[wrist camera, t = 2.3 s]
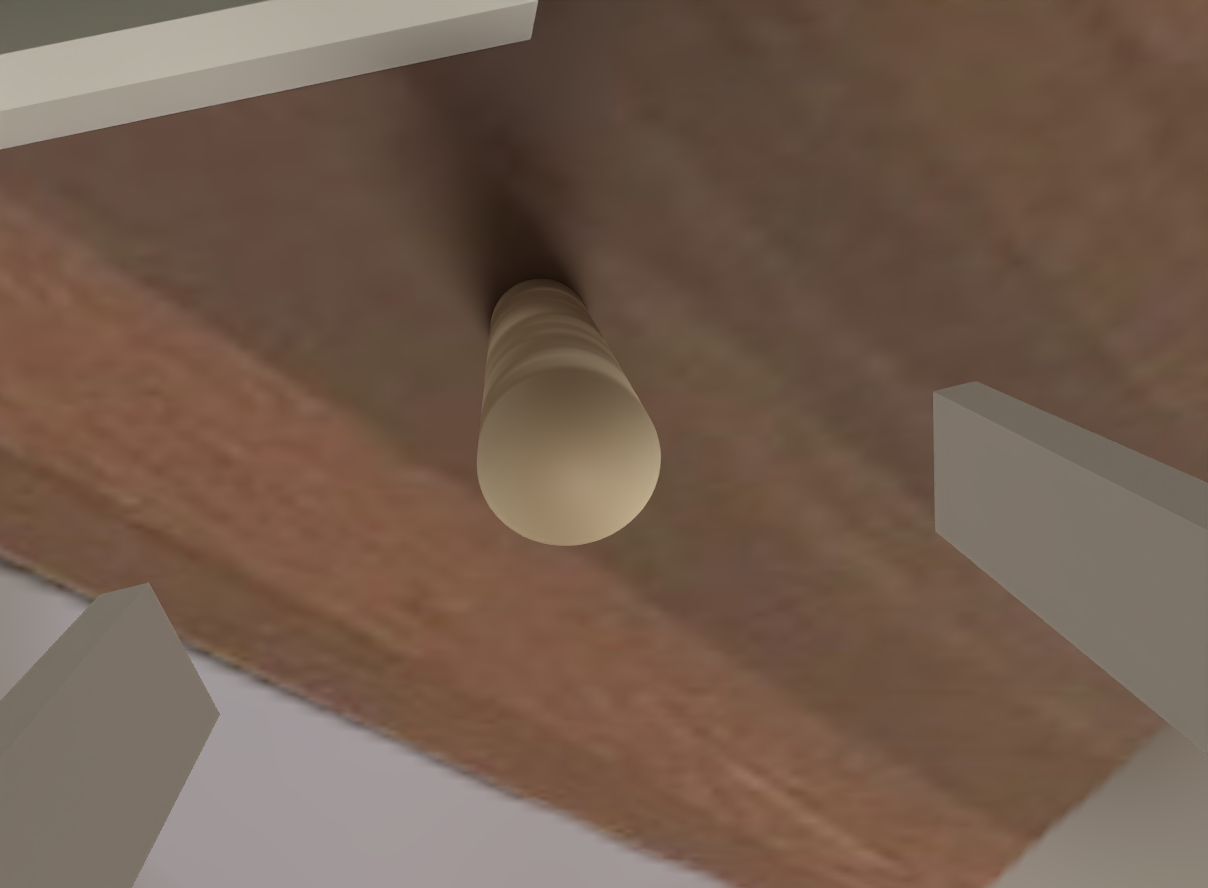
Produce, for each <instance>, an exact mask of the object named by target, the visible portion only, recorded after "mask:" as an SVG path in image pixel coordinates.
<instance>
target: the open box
mask: <svg viewBox="0 0 1208 888" xmlns="http://www.w3.org/2000/svg"><path fill="white" fill-rule="evenodd" d="M537 4H538V0H0V149H5V148H9V147H14V146H19V145H24V144H29V143H33V142H38V141H43V140H48V139H53V138H58V137H62V136H67V135H72V134H77V133H82V132H86V131H91V130H96V129H101V128H106V127H111V126H115V125H120V124H125V123H130V122H135V121H139V120H144V119H149V118H154V117H159V116H164V115H168V114H173V113H178V112H183V111H188V110H192V109H197V108H202V107H207V106H212V105H217V104H221V103H226V102H231V101H236V100H241V99H245V98H250V97H255V96H260V95H265V94H270V93H274V92H279V91H284V90H289V89H294V88H298V87H303V86H308V85H313V84H318V83H323V82H327V81H332V80H337V79H342V78H347V77H351V76H356V75H361V74H366V73H371V72H376V71H380V70H385V69H390V68H395V67H400V66H404V65H409V64H414V63H419V62H424V61H429V60H433V59H438V58H443V57H448V56H453V55H457V54H462V53H467V52H472V51H477V50H482V49H486V48H491V47H496V46H501V45H506V44H510V43H515V42H520V41H525V40H530V39H531V35H532V30H533V25H534V20H535V14H536V9H537Z"/></svg>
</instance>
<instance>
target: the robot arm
mask: <svg viewBox="0 0 1208 888" xmlns="http://www.w3.org/2000/svg"><path fill="white" fill-rule="evenodd" d="M933 416H934V485H935V531H936V532H937V533H938V534H939V535H940V536H942V537H943V538H944V539H945V540H947V541H948V542H949V543H950V544H951V545H953V546H954V547H955V548H956V549H958V550H959V551H960V552H961V553H962V554H964V555H965V556H966V557H967V558H968V559H970V560H971V561H972V562H973V563H975V564H976V565H977V566H978V567H979V568H981V569H982V570H983V571H984V572H986V573H987V574H988V575H989V576H990V577H992V578H993V579H994V580H995V581H996V582H998V583H999V584H1000V585H1001V586H1003V587H1004V588H1005V589H1006V590H1007V591H1009V592H1010V593H1011V594H1012V595H1013V596H1015V597H1016V598H1017V599H1018V600H1020V601H1021V602H1022V603H1023V604H1024V605H1026V606H1027V607H1028V608H1029V609H1031V610H1032V611H1033V612H1034V613H1035V614H1037V615H1038V616H1039V617H1040V618H1041V619H1043V620H1044V621H1045V622H1046V623H1048V624H1049V625H1050V626H1051V627H1052V628H1054V629H1055V630H1056V631H1057V632H1059V633H1060V634H1061V635H1062V636H1063V637H1065V638H1066V639H1067V640H1068V641H1069V642H1071V643H1072V644H1073V645H1074V646H1076V647H1077V648H1078V649H1079V650H1080V651H1082V652H1083V653H1084V654H1085V655H1087V656H1088V657H1089V658H1090V659H1091V660H1093V661H1094V662H1095V663H1096V664H1097V665H1099V666H1100V667H1101V668H1102V669H1104V670H1105V671H1106V672H1107V673H1108V674H1110V675H1111V676H1112V677H1113V678H1114V679H1116V680H1117V681H1118V682H1119V683H1121V684H1122V685H1123V686H1124V687H1125V688H1127V689H1128V690H1129V691H1130V692H1132V693H1133V694H1134V695H1135V696H1136V697H1138V698H1139V699H1140V700H1141V701H1142V702H1144V703H1145V704H1146V705H1147V706H1149V707H1150V708H1151V709H1152V710H1153V711H1155V712H1156V713H1157V714H1158V715H1160V716H1161V717H1162V718H1163V719H1164V720H1166V721H1167V722H1168V723H1169V724H1170V725H1172V726H1173V727H1174V728H1175V729H1177V730H1178V731H1179V732H1180V733H1181V734H1183V735H1184V736H1185V737H1186V738H1188V739H1189V740H1190V741H1191V742H1192V743H1194V744H1195V745H1196V746H1197V747H1199V748H1200V749H1201V750H1202V751H1203V752H1205V753H1206V754H1207V755H1208V483H1207V482H1204V481H1202V480H1200V479H1198V478H1195V477H1193V476H1191V475H1188V474H1186V473H1184V472H1182V471H1179V470H1177V469H1175V468H1172V467H1170V466H1168V465H1166V464H1163V463H1161V462H1159V461H1157V460H1154V459H1152V458H1150V457H1147V456H1145V455H1143V454H1141V453H1138V452H1136V451H1134V450H1131V449H1129V448H1127V447H1125V446H1122V445H1120V444H1118V443H1116V442H1113V441H1111V440H1109V439H1106V438H1104V437H1102V436H1100V435H1097V434H1095V433H1093V432H1090V431H1088V430H1086V429H1084V428H1081V427H1079V426H1077V425H1075V424H1072V423H1070V422H1068V421H1065V420H1063V419H1061V418H1059V417H1056V416H1054V415H1052V414H1050V413H1047V412H1045V411H1043V410H1040V409H1038V408H1036V407H1034V406H1031V405H1029V404H1027V403H1024V402H1022V401H1020V400H1018V399H1015V398H1013V397H1011V396H1009V395H1006V394H1004V393H1002V392H999V391H997V390H995V389H993V388H990V387H988V386H986V385H983V384H981V383H979V382H977V381H974V382H970V383H966V384H962V385H958V386H954V387H950V388H946V389H941V390H937V391H933ZM219 715H220V713H219V712H218V710H217V708H216V707H215V704H214V703H213V701H212V699H211V697H210V695H209V693H208V691H207V689H206V687H205V686H204V684H203V682H202V680H201V678H200V676H199V675H198V673H197V671H196V669H195V667H194V665H193V663H192V662H191V660H190V658H189V656H188V654H187V652H186V650H185V649H184V647H183V645H182V643H181V641H180V639H179V637H178V636H177V634H176V632H175V630H174V628H173V626H172V624H171V623H170V621H169V619H168V617H167V615H166V613H165V612H164V610H163V608H162V606H161V604H160V602H159V600H158V599H157V597H156V595H155V593H154V591H153V589H152V587H151V586H150V584H149V583H146V584H141V585H137V586H133V587H129V588H125V589H121V590H117V591H113V592H109V593H105V594H100V595H99V596H98V597H97V598H96V599H95V600H94V601H93V602H92V604H91V605H90V606H89V607H88V608H87V609H86V610H85V611H84V612H83V613H82V615H81V616H79V617H78V618H77V620H76V621H75V622H74V623H73V624H72V625H71V626H70V627H69V628H68V629H67V630H66V631H65V632H64V634H63V635H62V636H61V637H60V638H59V639H58V640H57V641H56V642H55V643H54V644H53V645H52V646H51V647H50V648H49V649H48V651H47V652H46V653H45V654H44V655H43V656H42V657H41V658H40V659H39V660H38V661H37V662H36V663H35V664H34V666H33V667H32V668H31V669H30V670H29V671H28V672H27V673H26V674H25V675H24V676H23V677H22V678H21V679H20V681H19V682H18V683H17V684H16V685H15V686H14V687H13V688H12V689H11V690H10V691H9V692H8V693H7V694H6V696H5V697H4V698H3V699H2V700H1V701H0V888H132V886H133V884H134V882H135V880H136V878H137V876H138V874H139V872H140V870H141V869H142V867H143V865H144V863H145V861H146V858H147V857H148V855H149V853H150V851H151V849H152V847H153V845H154V843H155V841H156V839H157V837H158V835H159V833H160V831H161V829H162V827H163V825H164V823H165V821H166V819H167V817H168V815H169V813H170V812H171V810H172V807H173V806H174V804H175V801H176V800H177V798H178V796H179V794H180V792H181V790H182V788H183V786H184V784H185V782H186V780H187V778H188V776H189V774H190V772H191V770H192V768H193V766H194V764H195V762H196V760H197V758H198V756H199V755H200V752H201V750H202V748H203V747H204V745H205V743H206V741H207V739H208V737H209V735H210V733H211V731H212V729H213V727H214V725H215V723H216V721H217V719H218V717H219Z"/></svg>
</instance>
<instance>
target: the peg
mask: <svg viewBox="0 0 1208 888" xmlns="http://www.w3.org/2000/svg"><path fill="white" fill-rule="evenodd" d="M660 461H661V453H660V444H659V440H658V436H657V432H656V430H655V428H654V425H653V423H652V421H651V419H650V418H649V416H648V414H647V412H646V411H645V409H644V407H643V406H642V404H641V402H640V400H639V399H638V397H637V395H636V393H635V392H634V390H633V388H632V387H631V385H630V383H629V381H628V380H627V378H626V376H625V374H624V373H623V371H622V369H621V368H620V366H619V364H618V362H617V361H616V359H615V357H614V355H613V354H612V352H611V350H610V349H609V347H608V345H607V343H606V342H605V340H604V338H603V336H602V335H601V333H600V331H599V330H598V328H597V326H596V324H595V323H594V321H593V319H592V317H591V316H590V314H589V312H588V311H587V309H586V307H585V305H584V304H583V302H582V300H581V299H580V298H579V296H578V295H577V294H576V293H575V292H574V291H573V290H571V289H570V288H569V287H567V286H566V285H564V284H562V283H560V282H557V281H554V280H550V279H543V278H538V279H529V280H526V281H522V282H520V283H518V284H516V285H514V286H513V287H511V288H510V289H509V290H507V291H506V292H505V293H504V294H503V295H502V296H501V298H500V299H499V301H498V302H497V304H496V306H495V308H494V310H493V313H492V317H491V324H490V334H489V344H488V354H487V364H486V374H485V384H484V394H483V404H482V414H481V424H480V434H479V444H478V455H477V473H478V479H479V483H480V487H481V490H482V493H483V495H484V497H485V499H486V501H487V503H488V505H489V506H490V508H491V509H492V510H493V512H494V513H495V514H496V516H497V517H498V518H499V519H500V520H501V521H502V522H503V523H504V524H506V525H507V526H508V527H510V528H511V529H512V530H514V531H515V532H517V533H519V534H520V535H522V536H524V537H527V538H529V539H531V540H534V541H537V542H541V543H545V544H551V545H561V546H570V545H580V544H586V543H590V542H594V541H597V540H600V539H602V538H605V537H607V536H609V535H611V534H613V533H615V532H617V531H618V530H620V529H621V528H623V527H624V526H625V525H627V524H628V523H629V522H631V521H632V520H633V519H634V518H635V517H636V516H637V515H638V514H639V512H640V511H641V510H642V509H643V508H644V506H645V505H646V503H647V502H648V500H649V498H650V497H651V495H652V493H653V490H654V488H655V486H656V483H657V480H658V476H659V470H660Z"/></svg>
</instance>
